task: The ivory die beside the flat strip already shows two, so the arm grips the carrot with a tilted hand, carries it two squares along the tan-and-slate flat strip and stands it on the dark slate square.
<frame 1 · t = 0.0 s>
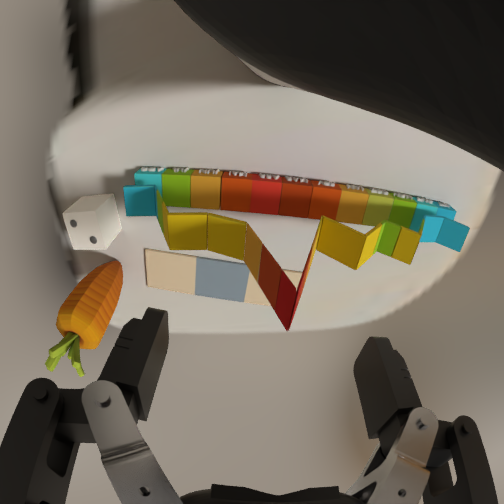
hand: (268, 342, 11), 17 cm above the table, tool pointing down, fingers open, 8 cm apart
flat strip: (221, 279, 31), on the table
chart: (307, 192, 26), on the table
die: (101, 212, 28), on the table
carrot: (119, 261, 31), on the table
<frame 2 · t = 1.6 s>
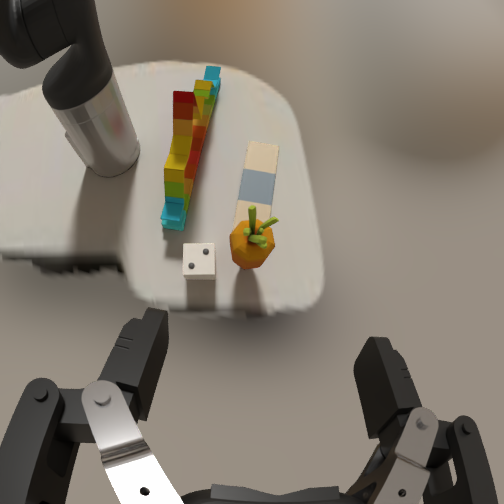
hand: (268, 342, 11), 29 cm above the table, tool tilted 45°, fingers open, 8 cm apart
flat strip: (257, 187, 45), on the table
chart: (194, 144, 46), on the table
die: (200, 265, 41), on the table
carrot: (245, 262, 42), on the table
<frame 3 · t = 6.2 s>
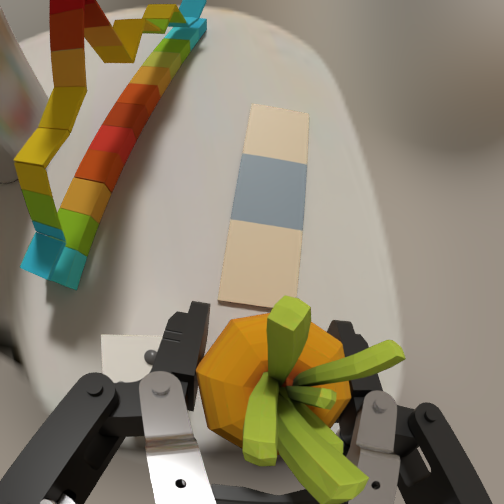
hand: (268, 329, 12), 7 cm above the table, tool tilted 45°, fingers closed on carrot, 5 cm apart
flat strip: (270, 191, 21), on the table
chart: (134, 118, 23), on the table
die: (154, 365, 18), on the table
carrot: (248, 358, 18), on the table, touching gripper
when the fingers open (8 cm above the table, at t = 11.3 s): carrot drops 1 cm, resting on flat strip.
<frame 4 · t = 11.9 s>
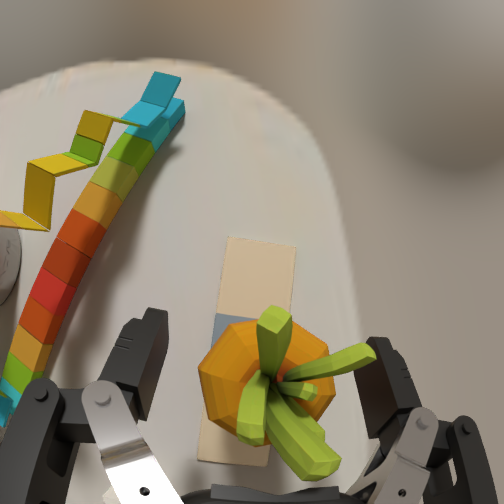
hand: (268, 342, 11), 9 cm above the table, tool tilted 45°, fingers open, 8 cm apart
flat strip: (246, 357, 20), on the table
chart: (79, 251, 21), on the table
die: (148, 497, 16), on the table
carrot: (246, 360, 19), resting on flat strip
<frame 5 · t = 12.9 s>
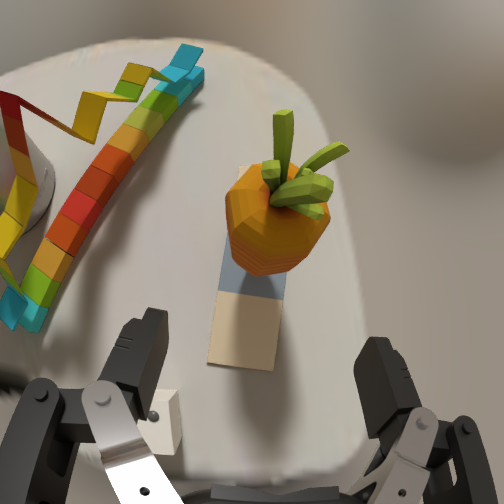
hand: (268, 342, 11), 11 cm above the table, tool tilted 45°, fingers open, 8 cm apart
flat strip: (255, 261, 23), on the table
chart: (108, 180, 25), on the table
die: (154, 412, 20), on the table
carrot: (255, 263, 23), resting on flat strip
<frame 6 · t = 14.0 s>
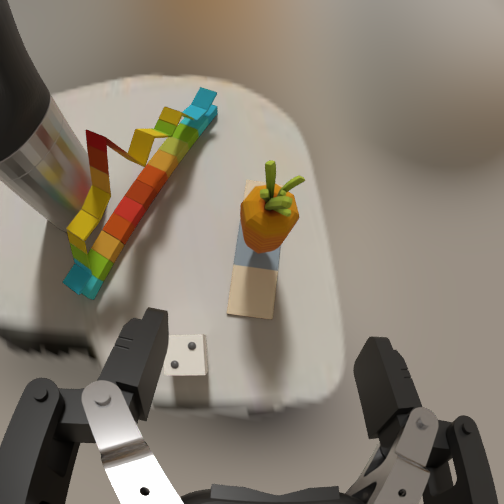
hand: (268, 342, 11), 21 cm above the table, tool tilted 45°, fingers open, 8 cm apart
flat strip: (258, 245, 35), on the table
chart: (148, 190, 36), on the table
die: (188, 353, 31), on the table
carrot: (258, 246, 34), resting on flat strip
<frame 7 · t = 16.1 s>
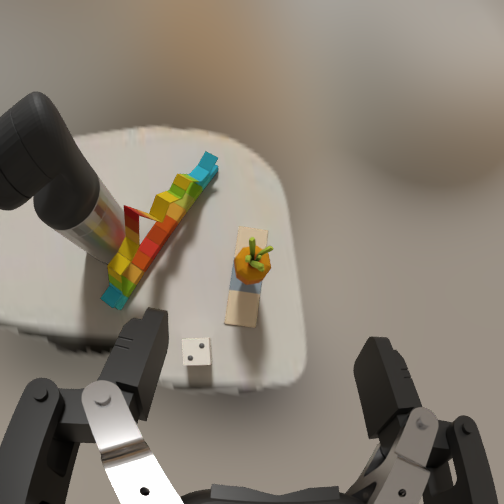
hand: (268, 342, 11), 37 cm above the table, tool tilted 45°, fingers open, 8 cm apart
flat strip: (246, 275, 49), on the table
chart: (163, 232, 50), on the table
die: (198, 350, 45), on the table
carrot: (246, 276, 49), resting on flat strip
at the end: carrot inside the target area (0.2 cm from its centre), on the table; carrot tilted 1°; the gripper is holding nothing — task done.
